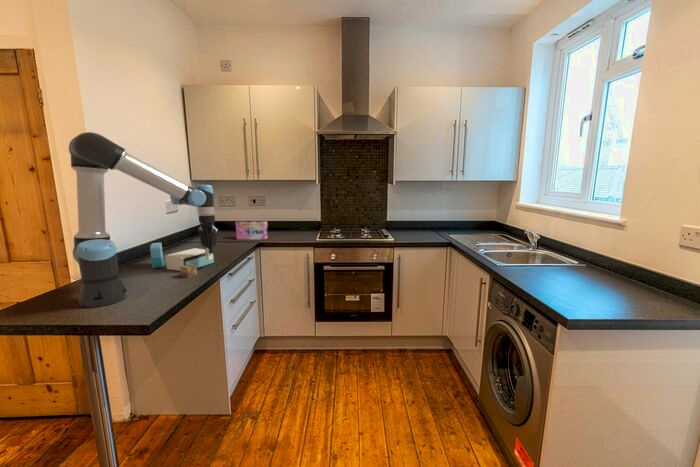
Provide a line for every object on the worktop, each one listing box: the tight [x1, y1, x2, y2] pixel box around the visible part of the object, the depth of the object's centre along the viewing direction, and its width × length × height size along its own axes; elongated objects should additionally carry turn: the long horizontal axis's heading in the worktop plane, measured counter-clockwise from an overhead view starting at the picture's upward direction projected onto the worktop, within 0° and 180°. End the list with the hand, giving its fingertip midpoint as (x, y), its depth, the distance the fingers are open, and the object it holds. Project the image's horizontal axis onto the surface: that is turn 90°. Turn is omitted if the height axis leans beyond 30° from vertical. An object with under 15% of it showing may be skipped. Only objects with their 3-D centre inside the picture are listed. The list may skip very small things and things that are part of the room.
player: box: [164, 247, 206, 272], centre depth 170 cm, size 12×18×7 cm, turn 157°
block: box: [179, 264, 198, 279], centre depth 152 cm, size 5×5×5 cm
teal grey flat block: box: [184, 253, 215, 268], centre depth 169 cm, size 13×18×5 cm
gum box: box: [234, 220, 269, 240], centre depth 244 cm, size 24×8×14 cm, turn 89°
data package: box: [149, 242, 164, 269], centre depth 169 cm, size 12×4×12 cm
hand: (209, 259), depth 164 cm, fingers closed
